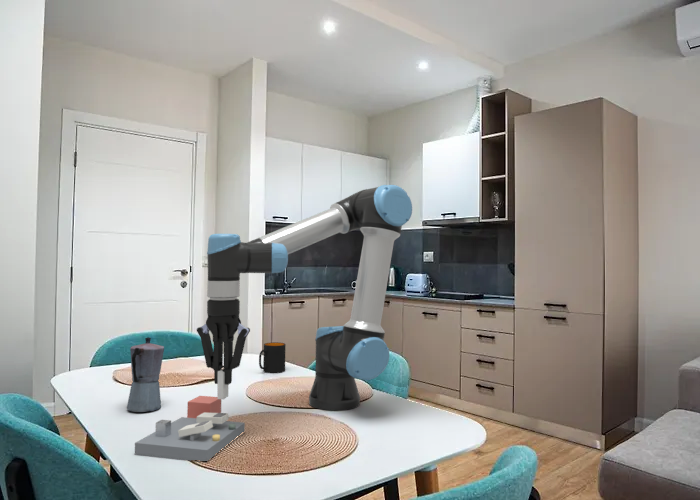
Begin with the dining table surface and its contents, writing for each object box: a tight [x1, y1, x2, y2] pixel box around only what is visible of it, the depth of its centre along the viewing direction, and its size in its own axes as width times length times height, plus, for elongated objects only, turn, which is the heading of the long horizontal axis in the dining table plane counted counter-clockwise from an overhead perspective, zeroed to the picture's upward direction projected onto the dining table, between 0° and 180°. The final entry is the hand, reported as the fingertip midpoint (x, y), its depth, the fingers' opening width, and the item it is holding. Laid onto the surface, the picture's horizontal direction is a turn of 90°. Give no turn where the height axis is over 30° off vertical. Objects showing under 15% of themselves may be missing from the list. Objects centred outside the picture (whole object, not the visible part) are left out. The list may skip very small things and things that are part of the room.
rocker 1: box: [178, 420, 213, 437], centre depth 114 cm, size 6×4×2 cm, turn 78°
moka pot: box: [126, 337, 165, 413], centre depth 144 cm, size 10×15×20 cm, turn 2°
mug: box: [258, 342, 286, 374], centre depth 195 cm, size 8×12×10 cm
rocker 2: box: [197, 412, 230, 424], centre depth 122 cm, size 6×4×2 cm, turn 78°
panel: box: [134, 416, 246, 462], centre depth 118 cm, size 17×19×4 cm
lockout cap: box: [186, 395, 222, 418], centre depth 136 cm, size 6×6×5 cm
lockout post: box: [154, 419, 172, 437], centre depth 116 cm, size 2×2×3 cm
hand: (222, 397), depth 122 cm, fingers closed
